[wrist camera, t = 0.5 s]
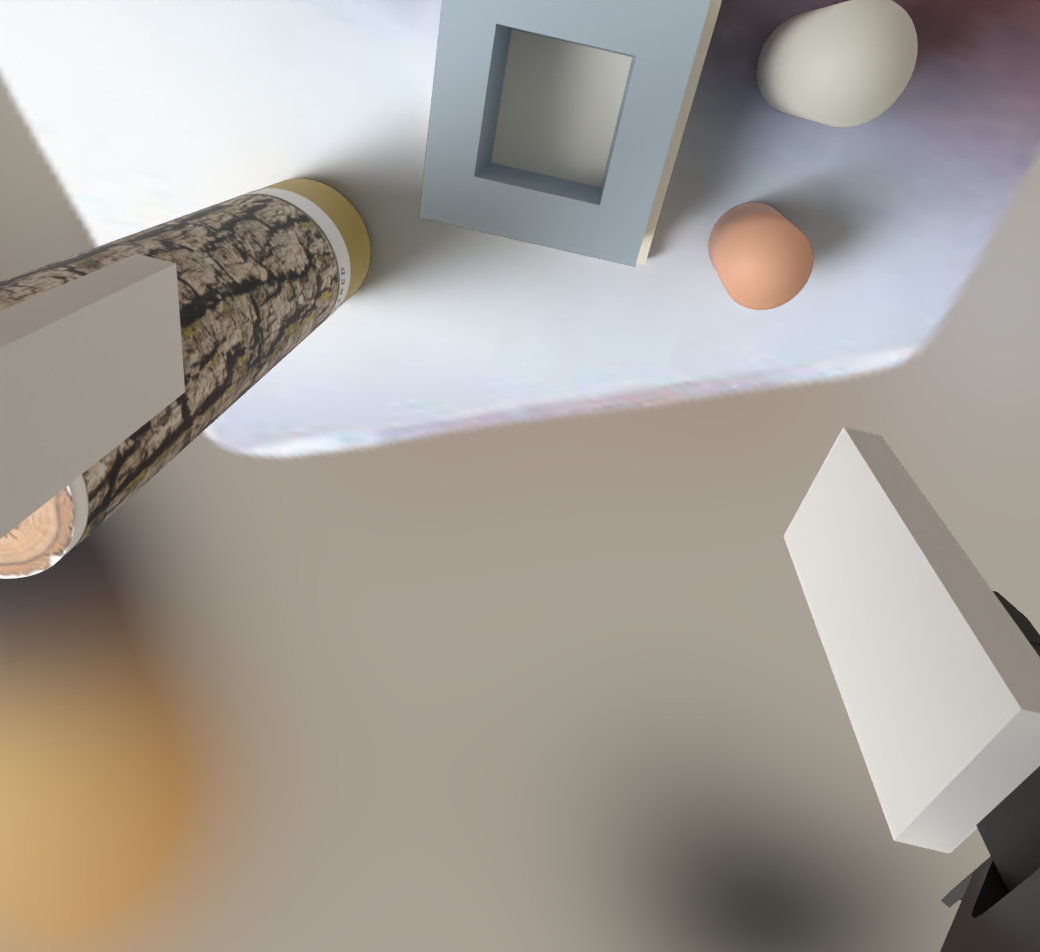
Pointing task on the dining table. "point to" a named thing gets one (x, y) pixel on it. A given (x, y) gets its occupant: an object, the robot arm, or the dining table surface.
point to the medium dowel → (839, 62)
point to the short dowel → (760, 256)
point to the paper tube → (204, 332)
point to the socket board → (562, 118)
